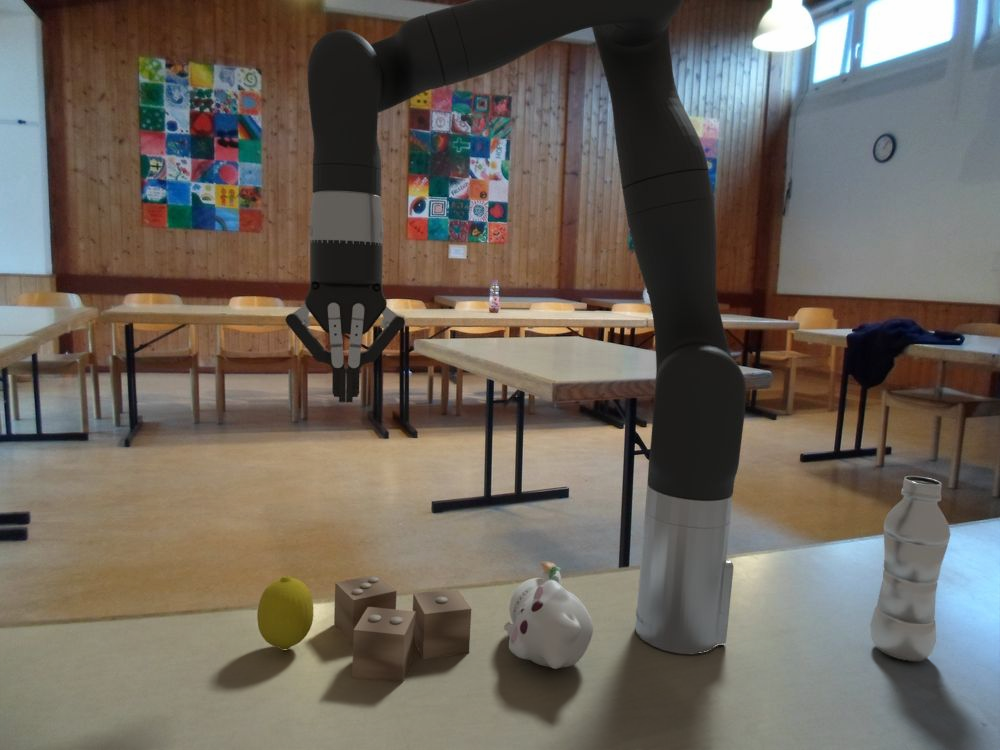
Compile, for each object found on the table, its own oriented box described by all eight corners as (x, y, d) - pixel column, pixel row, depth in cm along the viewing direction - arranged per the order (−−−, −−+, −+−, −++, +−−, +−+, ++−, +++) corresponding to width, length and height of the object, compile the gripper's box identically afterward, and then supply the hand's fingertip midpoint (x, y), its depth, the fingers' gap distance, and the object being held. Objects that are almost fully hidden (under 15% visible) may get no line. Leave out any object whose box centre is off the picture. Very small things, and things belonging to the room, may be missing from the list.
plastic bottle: (929, 648, 83) (952, 478, 80) (936, 676, 77) (962, 493, 74) (866, 634, 85) (887, 469, 83) (868, 659, 79) (891, 482, 77)
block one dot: (455, 631, 81) (457, 587, 80) (469, 653, 76) (471, 606, 75) (411, 636, 79) (413, 591, 78) (422, 660, 74) (424, 612, 74)
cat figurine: (528, 541, 83) (562, 580, 69) (584, 576, 85) (629, 621, 70) (483, 613, 83) (508, 668, 68) (541, 647, 84) (577, 708, 69)
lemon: (297, 667, 71) (298, 590, 70) (246, 659, 72) (247, 583, 71) (321, 641, 77) (323, 569, 76) (273, 633, 78) (274, 562, 77)
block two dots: (413, 657, 75) (415, 609, 74) (402, 683, 70) (404, 632, 69) (366, 652, 75) (367, 604, 75) (352, 678, 70) (353, 627, 70)
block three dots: (375, 615, 83) (376, 572, 83) (394, 634, 79) (396, 589, 79) (334, 625, 81) (335, 580, 80) (352, 645, 77) (353, 598, 76)
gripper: (407, 243, 81) (404, 396, 83) (284, 238, 79) (285, 395, 81) (412, 240, 74) (409, 407, 76) (278, 234, 71) (278, 407, 73)
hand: (345, 401), depth 78 cm, fingers closed
